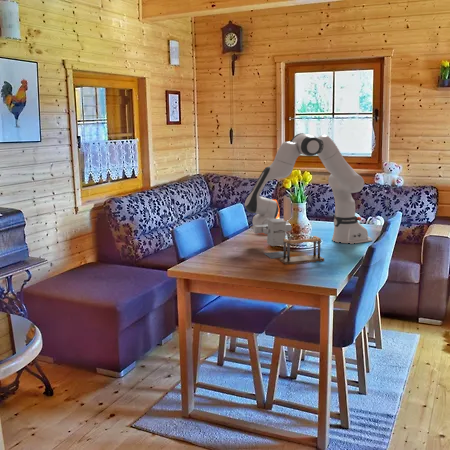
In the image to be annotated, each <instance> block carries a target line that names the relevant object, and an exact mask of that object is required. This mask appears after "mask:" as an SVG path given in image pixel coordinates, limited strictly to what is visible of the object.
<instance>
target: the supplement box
mask: <svg viewBox="0 0 450 450" xmlns="http://www.w3.org/2000/svg"><path fill="white" fill-rule="evenodd" d="M282 219H283V218H279V219H269V220H268V229H270V233H267V234H266V235H267V238H266V239H267V240H266V242H267V244H268V245H269V246H271V247H276V246H277V247H279V246H280V247H281V246H284V241H283V239H285V238H286V235H287V234H286V233H287V231H286V221H284V220H282Z"/></svg>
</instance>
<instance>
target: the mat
mask: <svg viewBox="0 0 450 450" xmlns="http://www.w3.org/2000/svg"><path fill="white" fill-rule="evenodd" d="M263 254H264V255H265V256H267V257H268V258H270V259H280V258H284V250H283V251H273V252H271V251H270V252H264V253H263ZM286 257H287V253H286Z"/></svg>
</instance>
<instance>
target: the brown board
mask: <svg viewBox="0 0 450 450" xmlns="http://www.w3.org/2000/svg"><path fill="white" fill-rule="evenodd" d="M279 261H280V262H282V263H283V264H284V265H296V264H307V263H316V261H319V262H325V258H324V257H323V256H321V255H320V258H318V254H316V256H313V254H310V255H309V254H308V255H297V256H290V261H287V257H286V259H284V258H279Z"/></svg>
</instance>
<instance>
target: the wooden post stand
mask: <svg viewBox="0 0 450 450" xmlns="http://www.w3.org/2000/svg"><path fill="white" fill-rule="evenodd" d="M283 241H284V245H283V252H284V259H286V254H287V261H290V257H291V244H299V243H300V244H301V243H313V248H312V249H313V254H312V255H313V256H316V255H318V258H320V256H321V241H322V238H320V237H318V236H316V235H314V236H313V237H312V238H303V239H294V240H293V239H291V240H290V239H287V238H286V237H285V239H283Z"/></svg>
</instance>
